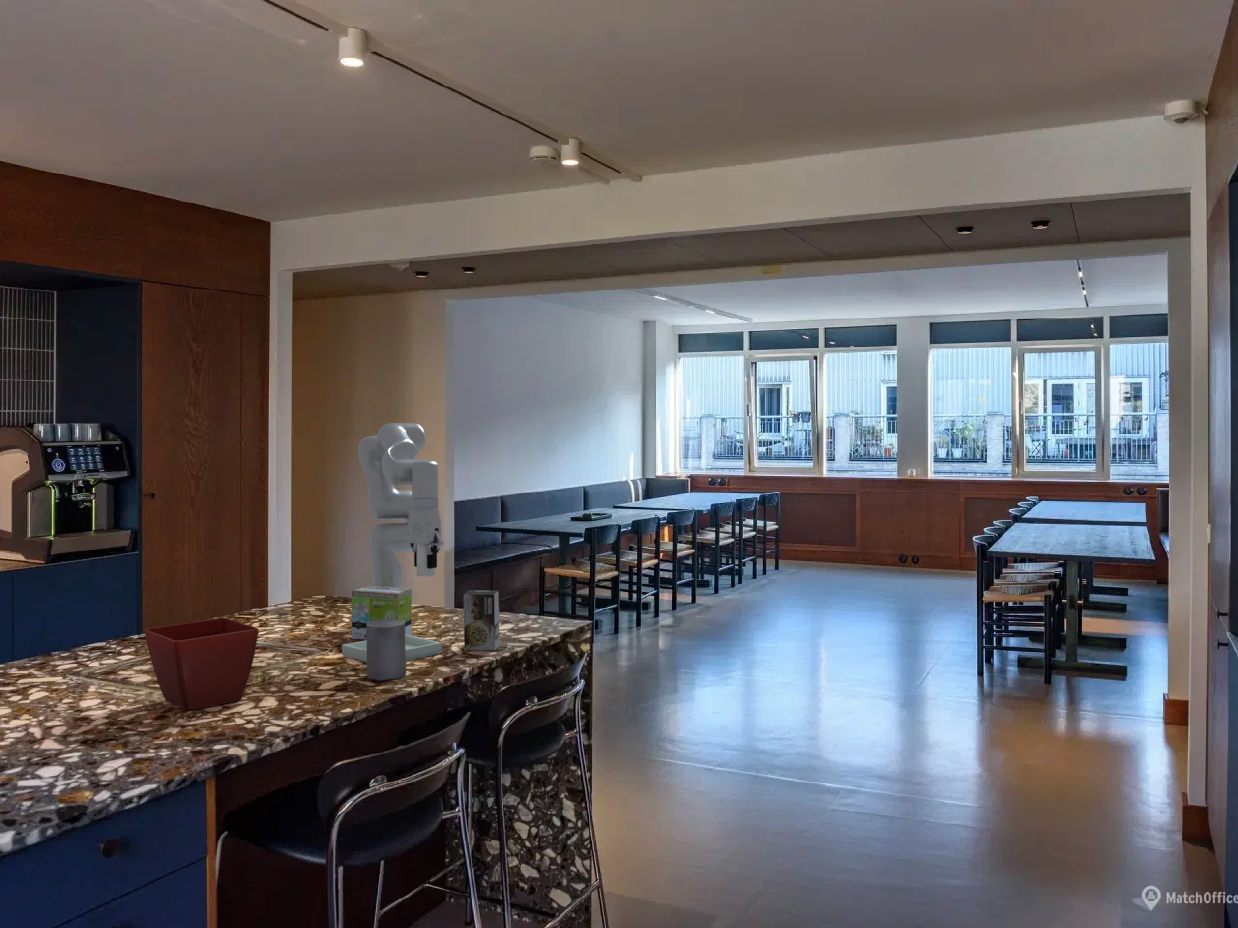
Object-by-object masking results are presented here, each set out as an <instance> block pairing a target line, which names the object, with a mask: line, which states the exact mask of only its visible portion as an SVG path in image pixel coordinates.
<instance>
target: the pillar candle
mask: <svg viewBox="0 0 1238 928" xmlns="http://www.w3.org/2000/svg"><path fill="white" fill-rule="evenodd" d="M366 637H367V662H366V677H367V679H369V678H370V679H369V680H373V679H375V680H374V681H389V679H390V680H398V678H399V679H402V678H404V677H406V674H407V661H406V644H405V621H404V620H401V619H387V617H386V619H377V620H372V621H369V622H367V623H366Z"/></svg>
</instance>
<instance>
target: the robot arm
mask: <svg viewBox="0 0 1238 928" xmlns="http://www.w3.org/2000/svg"><path fill="white" fill-rule="evenodd" d="M426 438H427V437H426V433H425V429H424V428H423V427H422V426H421V425H420V424H418V423H414V422H411V423H410V422H409V423H407V422H394V423H393V422H391V423H386V424H384V425H383V426H381V427H380V428H379V430H378V432H377V434H376V435H370V436H366V437H363V438H362V439H361V440H360V441H359V444H358V460H359V463H360V466H361V469H362V471H363V473H364V475H365V478H366V482H367V483H366V484H367V490H368V491H367V492H368V499H369V509H370V513H371V516H372V517H373V519H375V520H377V521H399V520H400V521H401V520H402V521H405V522H387V523H384V522H383V523H379V524H376V525H374V526H372V527H371V529H370V530H369V532H368V543H369V549H370V554H371V555H370V556H371V574H372V575H371V586H381V587H396V588H404V587H403V586H404V583H403V581H404V579H403V577H404V575H403V574H404V573H403V569H404V568H403V565H402V563H401V561H400V560H399V559H398V557H396V555H395V554H399V553H413V567H415V568H417V544H425V545H427V548H428V553H429V555H427V568H428V569H431V568H434V569H437V568H438V554H439V551H440V550H441V548H442V547H443V546H444V545H445V542H444V541H443V539H442V521H441V520H442V519H441V513H440V508H439V464H438V462H436V461H434V460H433V461H432V460H430V459H427V458H426V459H424V458H423V459H422V458H421V459H420V458H417V459H415V457H416V456H417V455H418V454H419V453H420V452H421V451H422V450H423V448H424V447H425V444H426ZM396 486H411V489H407V490H406V489H403V490H401V489H400V490H399V489H396ZM430 542H433V543H430ZM431 546H433V548H432V547H431Z"/></svg>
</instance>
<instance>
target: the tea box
mask: <svg viewBox="0 0 1238 928" xmlns="http://www.w3.org/2000/svg"><path fill="white" fill-rule="evenodd" d="M412 599H413V588H410V587H403V588H396V587H381V586H372V585H366V586H363V587H360V588H358V589H354V590H351V639H352V640H364V641H365V640H367V637H366V623H367V622H369V621H372V620H377V619H386V617H387V619H401V620H404V621H405V634H406V635H410V636H412V631H413V630H412V628H413V625H412V622H413V620H412V618H413V613H412V611H413V609H412V607H413V601H412Z"/></svg>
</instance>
